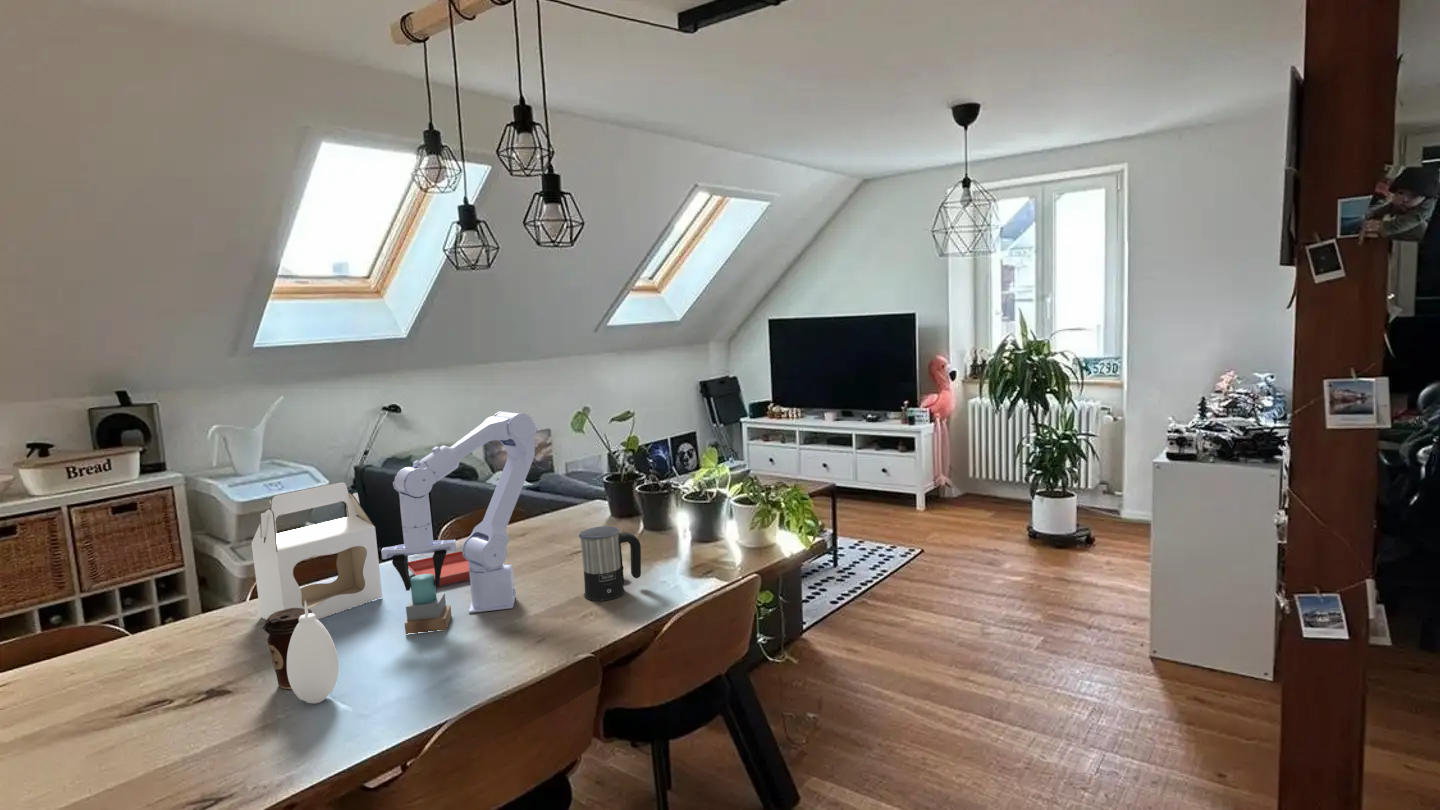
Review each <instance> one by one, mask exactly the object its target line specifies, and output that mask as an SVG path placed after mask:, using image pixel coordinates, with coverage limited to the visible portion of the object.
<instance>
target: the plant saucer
mask: <svg viewBox="0 0 1440 810" xmlns="http://www.w3.org/2000/svg"><path fill="white" fill-rule="evenodd" d="M408 570H410V572H411V573H412V574H413V575H414V576H417V575H421V574H433V575H434V577H435V569H434V562H433V556H431V557H426V558H421V559H418V560H417V559H416V560H411V561H408ZM469 579H470V575H469V561H468V560H466V559H465V558H464V556H463V553H462V550H461V551H454V552H451V553H446V556H445V559H444V562H443V565H442V569H441V575H440V586H439V587H442V586H441V585H443V586H447V585H446V584H448V585H451V583H452V584H455V582H457V583H460V581H461V582H464V580H465V581H470V580H469ZM435 587H436V586H435ZM436 588H437V587H436Z"/></svg>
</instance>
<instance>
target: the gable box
mask: <svg viewBox="0 0 1440 810" xmlns="http://www.w3.org/2000/svg"><path fill="white" fill-rule="evenodd" d="M268 503H269V506H270V507H269V508H270V509H267V510H266V511H265V512H260V513H259V520H260V521H259V524H258V527H257V529H256V531H255V534H254V536H253V539H252V540H251V549H252V558H253V566H254V573H255V581H256V582H255V583H256V590H257V599H258V605H259V606H258V607H259V613H260V614H259V615H260V618H261V619H263V620H265V621H266V620H267V619H268V617H269V616H270V615H271V614H273V613H275V612H277V611H281V610H285V609H289V608H303V609H305V605H304V603H305V601H306V603H307V608H308V609H310V610H311V611H312V613H313V614H315V615H316V618H317V620H320V619H324V618H326V616H327V617H330V616H333V615H336V614H339V613H341V612H340V611H342V612H345V611H347V610H346V609H348V610H350V609H349V608H351V609H353V608H352V607H354V608H356V606H357V607H359V606H358V605H360V606H362V605H361V604H363V605H365V604H364V603H366V602H369V601H372V600H375V599H378V598H381V597H382V598H383V590H382V588H383V587H382V581H381V569H380V563H379V561H380V560H379V553H378V551H379V550H378V544H377V543H378V542H377V534H376V533H377V532H376V525H374V523H373V522H372V520H371V518H370V517H369V516H368V514H367V513H366V512H365V510H364V508H363V507H362V506H361V504H360V497H359V494H358V492H353V493H351V492H349V490H348V487H347V484H346V483H345V482H343V481H339V482H334V483H329V484H326V485H325V484H324V485H321V486H316V487H311V488H305V489H300V490H295V491H289V492H284V493H281V494H280V493H279V494H276V495H273V496H272V497H271V498H270V499H269V500H268ZM337 503H338V504H341V503H344V504H345V506H346V509H345V510H346V517H342V518H337V519H336V518H335V519H333V520H329V521H323V522H320V523H317V524H311V525H309V526H303V527H300V528H296V529H291V530H287V531H282V532H279V533H278V531H277V524H276V521H277V518H278V516H279V517H282V516H283V515H287V514H292V513H297V512H301V511H305V510H311V509H314V508H319V507H325V506H328V505H332V504H337ZM334 554H337V556H336V564H335V566H336V571H337V578H336V579H335V580H334V581H332V582H328V583H323V582H322V583H313V584H309V585H305V586H303V587H300V585H299V584H298V582H297V580H296V579H295V576H294V568H295V567H296V565H297V564H298V563H300V562H301V561H304V560H306V559H308V558H312V557H316V556H326V555H334ZM375 601H376V600H375ZM372 602H373V601H372ZM369 603H370V602H369ZM366 604H367V603H366ZM344 610H345V611H344ZM338 612H339V613H338ZM335 613H336V614H335ZM332 614H333V615H332Z"/></svg>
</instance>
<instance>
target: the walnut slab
mask: <svg viewBox="0 0 1440 810" xmlns="http://www.w3.org/2000/svg"><path fill="white" fill-rule="evenodd" d="M451 615H452V609H451V604H446V607H445V609H444V611H443V612H442V614H441V616H440V618H430V619H419V620H409V621H407V619H406V620H405V622H404V631H405V632H404V633H405V635H406V634H408V633H418V632H428V631H437V630H446V629H448V627H449V625H448V624H450V622H451V619H450V618H452V617H451ZM449 621H450V622H449ZM447 626H448V627H447ZM446 631H447V630H446Z"/></svg>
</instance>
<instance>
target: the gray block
mask: <svg viewBox="0 0 1440 810" xmlns="http://www.w3.org/2000/svg"><path fill="white" fill-rule="evenodd" d="M436 597H437V599H436V600H435V601H433V602H431V603H428V604H421V605H417V604H413V602H412V598H410V600H409V601H408V603H407V605H406V606H405V611H406V620H407V621H409V620H419V619H430V618H440V616H441V614H442V612H443V611H444V609H445V607H446V605H447V603H446V593H445V592H440V593H436Z"/></svg>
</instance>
